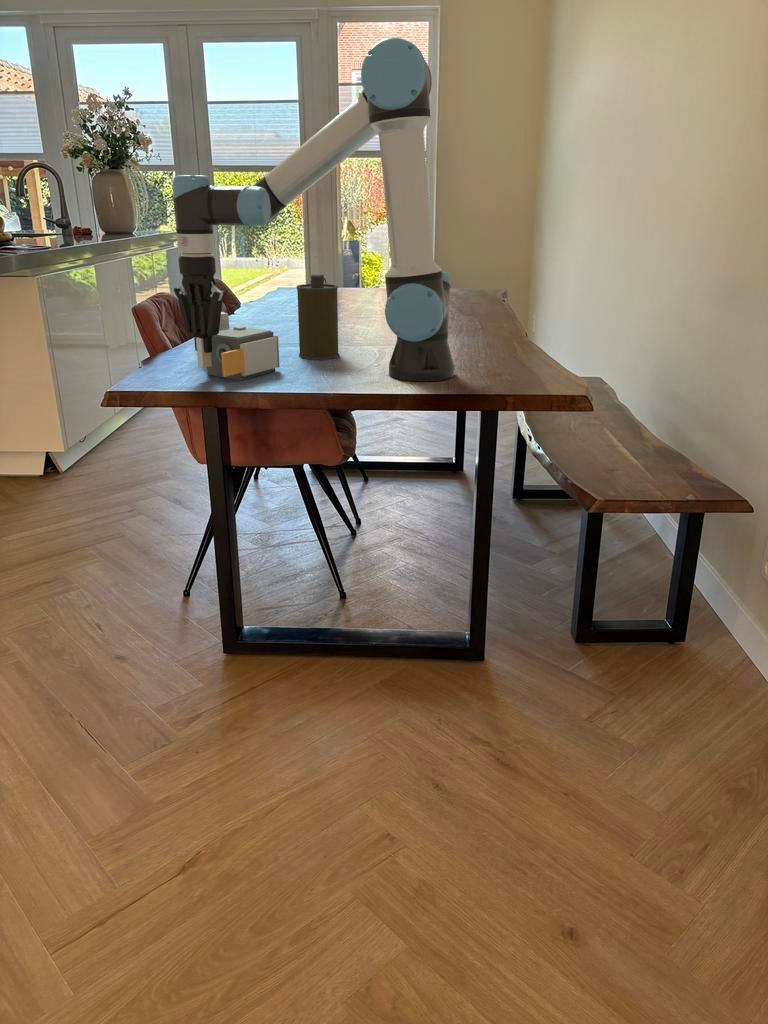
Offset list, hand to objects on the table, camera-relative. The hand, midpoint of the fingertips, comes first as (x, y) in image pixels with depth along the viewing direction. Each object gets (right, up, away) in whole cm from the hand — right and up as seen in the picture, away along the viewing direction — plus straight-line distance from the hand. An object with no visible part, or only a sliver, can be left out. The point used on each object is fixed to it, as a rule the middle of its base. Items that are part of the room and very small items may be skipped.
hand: (205, 366), depth 169 cm
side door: (+10, -1, +2) cm, 11 cm away
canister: (+23, +8, +27) cm, 37 cm away
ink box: (-2, +5, +21) cm, 22 cm away
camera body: (+7, 0, +8) cm, 10 cm away
